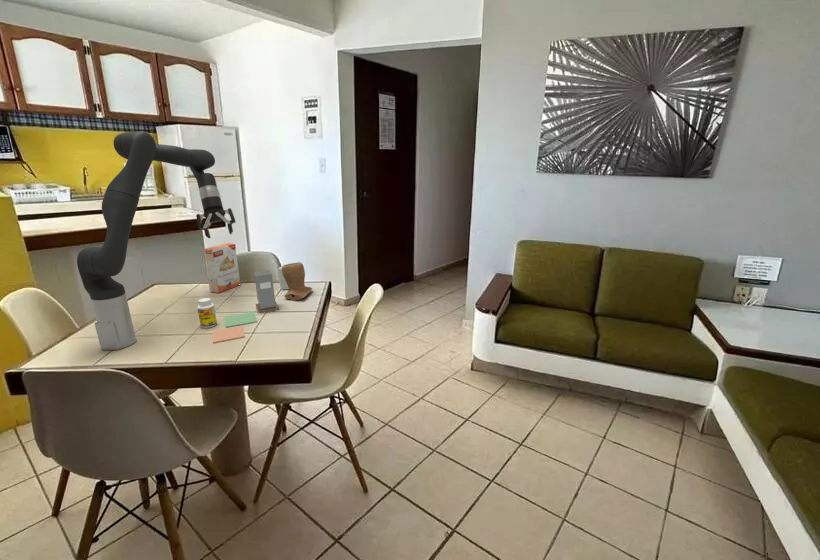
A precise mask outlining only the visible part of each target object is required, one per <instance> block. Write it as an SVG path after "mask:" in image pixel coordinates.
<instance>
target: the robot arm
mask: <svg viewBox="0 0 820 560" xmlns="http://www.w3.org/2000/svg"><path fill="white" fill-rule="evenodd" d="M113 148H114V150H115V152H116V153H117V155H119V156H120V157H121V158H123V159H125V160H126V162H125V165H124V167H122V169H121V170H120V171H119V172H118V174H116V175H115V176H114V178H113V179H112V180H111V181H110V182H109V184H108V185H107V186H106V189H105V192H104V195H103V198H102V202H101V213H102V217H103V219H104V222H105V225H106V234H105V239H104V241H103V245H102V246H88V247H84V248H82V249H81V250H80V251H79V252H78V254H77V258H76V266H77V270H78V273H79V275H80V279H81V281H82V285H83V288H84V290H85V291H86V292H87V294H88V295H89V298H90V300H91V305H92V308H93V313H94V317H95V320H96V321H95V322H94V328H95V331H96V334H97V339H98V342H99V346H100V350H101V351H102V350H105V351H107V350H111V351H114V350H117V351H119V350H121V349H123V348H127V347H129V346H132V345H134V344H135V343H136V342H137V336H136V332H135V328H134V323H133V319H132V314H131V310H130V306H129V302H128V299H127V294H126V289H125V287H124V285H123V284H122V283H120V282H119V281H116V280H115V279H113V277H115V276H118V275H119V274H121V272H122V270H123V269H124V266H125V263H126V258H127V252H128V244H129V238H130V233H131V231H132V226H133V222H134V217H135V215H136V212H137V209H138V205H139V202H140V199H141V198H140V197H141V193H142V191H143V187H144V184H145V182H146V181H145V180H146V177H147V175H148V172H149V170H150V168H151V165H152V163H153V161H155V162H160V163H166V164H170V165H175V166H176V165H177V166H180V167H185V168H186V167H187V168H189V169H190V171H191V173H192V174H193V176H194V178H195V180H196V182H197V186H198V187H197V188H198V191H199V197H200V202H201V204H202V205H201V206H202V209H203V214H199V213H196V215H195V217H196V222H197V228H198V229H200V230H203V231H204V236H205V237H206V238H207V239H211V234H210V230H209V227H210V226H211V224H214V223H215V224H216V223H220V222H222V221H223V222H224V223H226V225H227V229H228V232H229V235H232V234H233V232H234V229H233V224H235V223H236V218H235V216H234V212H233V210H232V208H230V207H229V208H227V209H224V207H223V206H224V205H223V201H222V198H221V195H220V192H219V191H220V190H219V188H218V185H217V181H216V177H215V175H214V174H213V173H210V172H205V171H206V170H208V169H210V168H212V167H214V166H215V164H216V159H215V157H214V155H213V154H212V152H210V151H209V150H206V149H196V148H194V149H190V148H185V147H181V146H178V145H177V146H176V145H169V144H158V143H156V140H155V139H154V137H153V135H151V133H149V132H147V131H142V130H141V131H139V130H137V131H127V132H121V133H118V134H117V135H116V136H115V137H114V139H113ZM226 214H227V215H228V216H229V218H230V220H228V219H227V218H226V216H225V215H226ZM203 219H206V220H205V221H204V225H203Z"/></svg>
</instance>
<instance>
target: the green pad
mask: <svg viewBox="0 0 820 560" xmlns="http://www.w3.org/2000/svg"><path fill="white" fill-rule="evenodd" d="M223 319H224V325H225V329H228V328H233V327H239V326H243V325H251V324H255V323H258V320H257V319H258V318H257V317H256V313H255V311H249V312H244V313H237V314H233V315H226V316H224V317H223Z"/></svg>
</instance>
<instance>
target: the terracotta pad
mask: <svg viewBox="0 0 820 560" xmlns="http://www.w3.org/2000/svg"><path fill="white" fill-rule="evenodd" d="M211 335H212V344H217V343H222V342H223V343H224V342H228V341H234V340H239V339H244V338H245V337H246V336H245V332H244V328H243V325H239V326H234V327H228V328H224V329H223V328H222V329H218V330H212V331H211Z"/></svg>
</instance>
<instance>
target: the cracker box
mask: <svg viewBox="0 0 820 560" xmlns="http://www.w3.org/2000/svg"><path fill="white" fill-rule="evenodd" d="M236 247H237V246H236V244H235V243H230V242H227V243H222V244H218V245H214V246H210V247H205V248H203V254H204V259H205V260H204V261H205V267H206V274H207V280H208V286H209V287H208V288H209V291H210V293H215V294H221V293H223V292H225V291H228V290H230V289H233V288H235V286H236V287H238V285H239V284H240V285H241V279H240V271H239V263H238V255H237V248H236ZM240 285H239V286H240Z"/></svg>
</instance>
